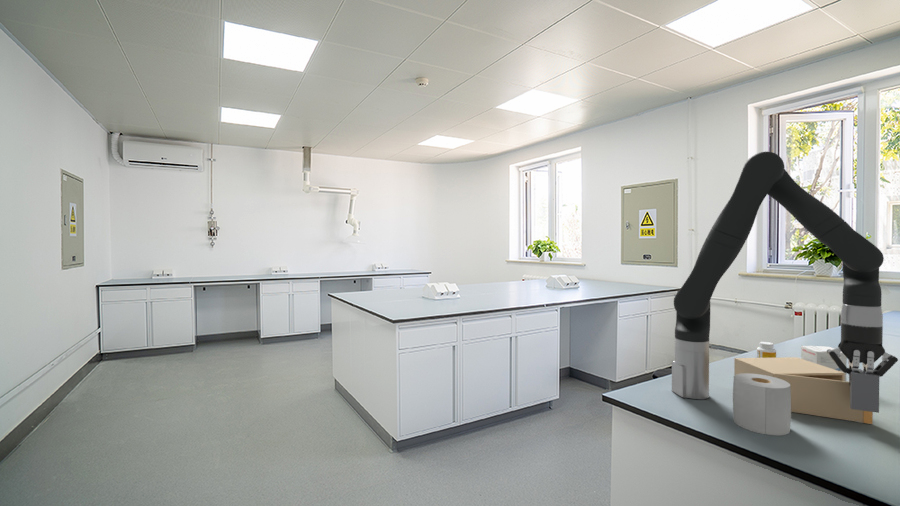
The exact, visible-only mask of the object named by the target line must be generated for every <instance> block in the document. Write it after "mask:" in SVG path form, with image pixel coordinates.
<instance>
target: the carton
mask: <svg viewBox="0 0 900 506" xmlns="http://www.w3.org/2000/svg"><path fill="white" fill-rule="evenodd" d="M733 360H734V364H733V365H734V374H733V376H734V375H736V374H743V373H749V374H760V375H766V376H771V377H774V373H777V374H786V375H795V376H803V377H812V378H821V379H830V380H838V381H845V373H843V372H840V371H837V370H834V369H831V368H828V367H825V366H822V365H819V364H816V363H813V362H810V361H807V360H804V359H801V357H797V356H796V357H795V356H794V357H792V356H790V357H786V356H785V357H776V358H757V357H734V359H733Z"/></svg>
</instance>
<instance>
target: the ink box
mask: <svg viewBox="0 0 900 506" xmlns="http://www.w3.org/2000/svg"><path fill="white" fill-rule="evenodd" d="M800 349H801V351H800V358H801V359H804V360H807V361H810V362H813V363H816V364H819V365H822V366H825V367H828V368H831V369H834V370H837V371H840V372H843V371H842V370H840V368H839V367H838V366H837V365H836V363H835V362H834V361H833V359H832V358H831V357H830V356H829V354H828V353H827V350H828V349H831V350H832V349H835V348H834V347H831V346H823V345H822V346H820V345H801V346H800ZM840 354H841V357H839V358H840V360H841V361H842V362H843V364H844V365H845V366H846V367H847V362H848V361H847V359H848V358H847V357H846V356H845V355H844V354H843V353H842V352H840ZM843 373H844V372H843ZM845 381H847V373H845Z"/></svg>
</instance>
